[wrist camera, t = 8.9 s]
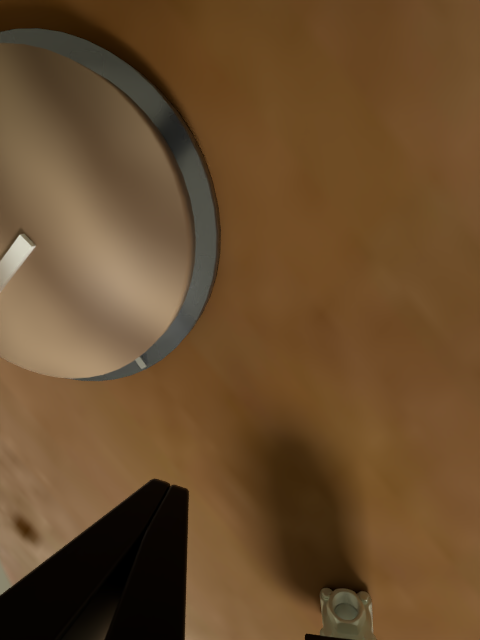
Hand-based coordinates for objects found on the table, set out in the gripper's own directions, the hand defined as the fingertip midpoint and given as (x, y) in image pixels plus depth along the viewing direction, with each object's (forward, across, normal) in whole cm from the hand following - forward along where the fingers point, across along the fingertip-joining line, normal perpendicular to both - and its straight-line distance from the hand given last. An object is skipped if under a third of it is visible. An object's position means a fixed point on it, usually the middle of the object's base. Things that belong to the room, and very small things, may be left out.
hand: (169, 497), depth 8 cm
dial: (+12, +12, -2) cm, 17 cm away
